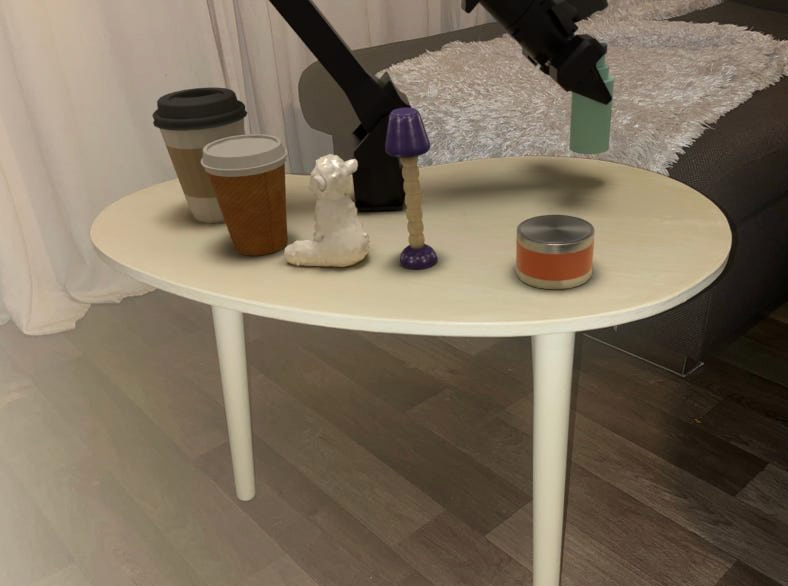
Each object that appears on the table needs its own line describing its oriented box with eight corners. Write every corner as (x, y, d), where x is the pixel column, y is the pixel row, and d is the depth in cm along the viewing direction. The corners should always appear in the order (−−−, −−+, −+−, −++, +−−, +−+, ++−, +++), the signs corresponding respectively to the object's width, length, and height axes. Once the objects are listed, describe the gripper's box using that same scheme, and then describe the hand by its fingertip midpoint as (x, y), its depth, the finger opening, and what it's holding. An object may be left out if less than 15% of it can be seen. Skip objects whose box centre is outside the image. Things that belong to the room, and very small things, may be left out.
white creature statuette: (341, 235, 92) (328, 136, 86) (394, 250, 88) (385, 147, 81) (282, 263, 86) (264, 159, 79) (336, 281, 81) (322, 172, 75)
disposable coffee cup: (220, 235, 94) (199, 138, 87) (298, 225, 95) (283, 129, 89) (220, 266, 86) (196, 162, 79) (304, 255, 87) (288, 152, 81)
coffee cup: (261, 193, 106) (241, 81, 98) (267, 222, 97) (246, 101, 89) (177, 204, 104) (149, 91, 96) (175, 234, 94) (144, 112, 86)
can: (518, 290, 78) (518, 245, 75) (514, 257, 85) (514, 215, 82) (596, 288, 77) (600, 243, 75) (586, 255, 84) (589, 212, 81)
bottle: (571, 155, 99) (576, 49, 92) (567, 143, 104) (572, 41, 97) (611, 153, 99) (619, 48, 92) (605, 142, 103) (613, 40, 96)
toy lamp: (431, 272, 82) (422, 116, 73) (390, 270, 83) (376, 116, 74) (440, 254, 86) (433, 104, 77) (401, 252, 87) (389, 103, 78)
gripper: (592, -41, 81) (679, 61, 88) (547, -53, 96) (624, 34, 103) (519, 43, 84) (608, 134, 91) (487, 18, 100) (565, 98, 107)
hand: (602, 96), depth 98 cm, fingers closed on bottle, 5 cm apart
